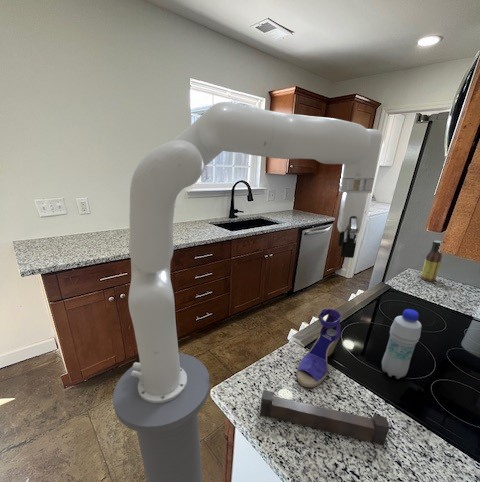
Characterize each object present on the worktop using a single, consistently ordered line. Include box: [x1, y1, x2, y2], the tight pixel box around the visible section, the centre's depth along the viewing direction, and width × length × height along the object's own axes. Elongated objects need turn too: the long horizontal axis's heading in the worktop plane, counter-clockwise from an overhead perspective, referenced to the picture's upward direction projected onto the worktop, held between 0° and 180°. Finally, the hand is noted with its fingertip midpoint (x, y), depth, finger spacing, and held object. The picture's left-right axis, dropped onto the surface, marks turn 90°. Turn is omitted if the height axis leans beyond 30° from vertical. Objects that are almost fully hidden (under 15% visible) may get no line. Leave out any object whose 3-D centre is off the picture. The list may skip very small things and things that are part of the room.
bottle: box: [381, 308, 423, 380], centre depth 70 cm, size 7×7×20 cm
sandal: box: [296, 308, 342, 389], centre depth 73 cm, size 8×20×15 cm, turn 134°
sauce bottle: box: [420, 240, 443, 283], centre depth 129 cm, size 7×6×20 cm
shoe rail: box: [260, 389, 390, 446], centre depth 58 cm, size 26×2×5 cm, turn 75°
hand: (345, 251), depth 72 cm, fingers open, 9 cm apart
